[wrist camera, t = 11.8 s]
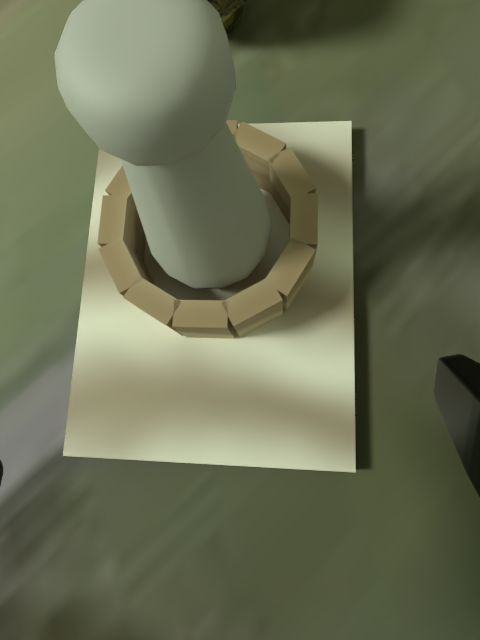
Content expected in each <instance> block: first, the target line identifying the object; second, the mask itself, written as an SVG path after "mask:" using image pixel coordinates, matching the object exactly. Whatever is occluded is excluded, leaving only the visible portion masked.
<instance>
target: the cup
mask: <svg viewBox="0 0 480 640" xmlns="http://www.w3.org/2000/svg"><path fill="white" fill-rule="evenodd" d="M207 1H208V2H209V3H210V4H211V5H212V6H213V7H214V8H215V9H216V10H217V11H218V13H219V15H220V18H221V20H222V23H223V26H224V29H225V31H226V33H228V32H229V31H231V30H232V29H233V28H234V27H235V25H236V24H237V23H238V21H239V19H240V16H241V13H242V9H243V3H244V2H245V1H246V0H207Z"/></svg>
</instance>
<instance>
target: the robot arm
mask: <svg viewBox="0 0 480 640" xmlns="http://www.w3.org/2000/svg"><path fill="white" fill-rule="evenodd" d="M434 395H435V399H436V402H437V405H438V407H439V409H440V412H441V414H442V416H443V419H444V421H445V423H446V426H447V428H448V430H449V433H450V435H451V437H452V440H453V442H454V445H455V447H456V449H457V452H458V454H459V456H460V459H461V461H462V463H463V466H464V468H465V470H466V472H467V474H468V476H469V478H470V480H471V482H472V484H473V486H474V488H475V489H476V491H477V493H478V495H479V497H480V363H478V362H476V361H474V360H472V359H470V358H468V357H466V356H464V355H461V354H457V355H451V356H445V357H441V358H439V359H438V361H437V364H436V374H435V385H434ZM2 476H3V465H2V462H1V460H0V485H1V480H2Z"/></svg>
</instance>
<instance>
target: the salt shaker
mask: <svg viewBox="0 0 480 640" xmlns="http://www.w3.org/2000/svg"><path fill="white" fill-rule="evenodd" d="M55 64H56V74H57V83H58V88H59V91H60V93H61V95H62V97H63V100H64V102H65V104H66V106H67V108H68V110H69V111H70V112H71V114H72V115H73V116H74V117H75V119H76V120H77V121H78V122H79V124H80V125H81V126H82V128H83V129H84V130H85V131H86V133H87V134H88V135H89V136H90V137H91V139H92V140H93V141H94V142H95V143H96V144H97V146H98V147H99V148H100V149H101V150H103V151H105V152H107V153H109V154H111V155H114V156H116V157H118V158H120V159H121V161H122V164H123V167H124V171H125V174H126V177H127V180H128V183H129V186H130V189H131V192H132V195H133V198H134V201H135V204H136V208H137V211H138V214H139V217H140V220H141V223H142V226H143V229H144V232H145V235H146V238H147V241H148V244H149V248H150V251H151V254H152V255H153V257H154V258H155V259H156V260H157V262H158V263H159V264H160V266H161V267H162V268H163V269H164V271H165V272H166V273H167V274H168V275H169V276H171V277H173V278H175V279H177V280H179V281H180V282H182V283H184V284H186V285H188V286H190V287H192V288H194V289H215V288H224V287H227V286H229V285H231V284H233V283H236V282H238V281H240V280H243V279H245V278H247V277H248V276H249V275H250V274H251V272H252V271H253V270H254V269H255V268H256V266H257V265H258V264H259V263H260V262H261V260H262V259H263V258H264V257H265V254H266V250H267V246H268V243H269V239H270V235H271V232H272V228H273V227H272V222H271V218H270V214H269V210H268V205H267V201H266V199H265V197H264V195H263V193H262V192H261V190H260V188H259V186H258V184H257V182H256V180H255V178H254V176H253V174H252V172H251V170H250V168H249V166H248V164H247V162H246V160H245V158H244V156H243V154H242V152H241V150H240V148H239V146H238V144H237V142H236V140H235V138H234V137H233V135H232V133H231V131H230V129H229V127H228V125H227V123H226V118H227V115H228V112H229V109H230V105H231V102H232V99H233V96H234V92H235V89H236V79H235V67H234V63H233V59H232V54H231V50H230V46H229V42H228V38H227V34H226V31H225V29H224V26H223V23H222V20H221V18H220V15H219V13H218V11H217V10H216V9H215V8H214V7H213V6H212V5H211V4H210V3H209V2H208V1H207V0H83V1H82V2H81V3H80V4H79V5H78V6H77V7H76V8H75V9H74V10H73V11H72V12H71V14H70V16H69V18H68V20H67V22H66V25H65V28H64V30H63V33H62V36H61V38H60V41H59V44H58V47H57V49H56V52H55Z"/></svg>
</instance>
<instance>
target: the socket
mask: <svg viewBox="0 0 480 640" xmlns="http://www.w3.org/2000/svg"><path fill="white" fill-rule="evenodd" d="M226 123H227V125H228V127H229V129H230V131H231V133H232V135H233V137H234V138H235V140H236V142H237V144H238V146H239V148H240V150H241V152H242V154H243V156H244V158H245V160H246V162H247V164H248V166H249V168H250V170H251V172H252V174H253V176H254V178H255V180H256V182H257V184H258V186H259V188H260V190H261V192H262V193H263V195H264V197H265V199H266V201H267V205H268V210H269V214H270V218H271V222H272V227H273V228H272V232H271V235H270V239H269V243H268V246H267V250H266V254H265V257H264V258H263V259H262V260H261V262H260V263H259V264H258V265H257V266H256V268H255V269H254V270H253V271H252V272H251V274H250V275H249V276H248V277H247V278H245V279H243V280H240V281H238V282H236V283H233V284H231V285H229V286H227V287H224V288H215V289H194V288H192V287H190V286H188V285H186V284H184V283H182V282H180V281H179V280H177V279H175V278H173V277H171V276H169V275H168V274H167V273H166V272H165V271H164V269H163V268H162V267H161V266H160V264H159V263H158V262H157V260H156V259H155V258H154V257H153V255H152V254H151V251H150V248H149V244H148V241H147V238H146V235H145V232H144V229H143V226H142V223H141V220H140V217H139V214H138V211H137V208H136V204H135V201H134V198H133V195H132V192H131V189H130V186H129V183H128V180H127V177H126V174H125V171H124V167H123V164H122V161H121V159H120V158H118V157H116V156H114V155H111V154H109V153H107V152H105V151H103V150H101V149H100V148H99V154H98V163H97V171H96V180H95V188H94V197H93V205H92V214H91V222H90V230H89V239H88V247H87V256H86V264H85V273H84V281H83V290H82V298H81V307H80V315H79V324H78V332H77V341H76V349H75V358H74V366H73V375H72V383H71V392H70V400H69V409H68V417H67V426H66V434H65V443H64V451H63V456H76V457H93V458H111V459H129V460H146V461H164V462H181V463H199V464H217V465H234V466H252V467H269V468H287V469H304V470H322V471H340V472H356V452H355V372H354V291H353V211H352V131H351V121H337V122H300V123H264V124H247V123H245V122H243V121H242V123H241V124H237V120H226Z"/></svg>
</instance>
